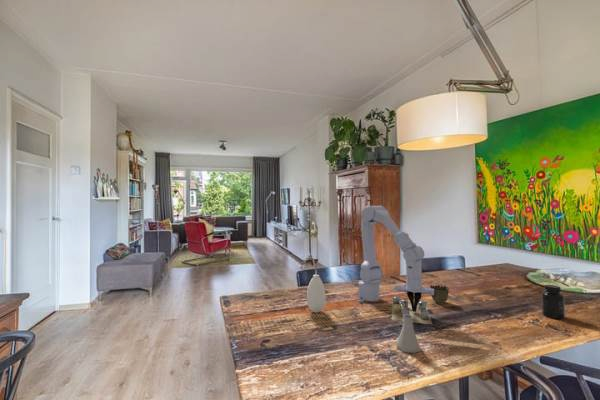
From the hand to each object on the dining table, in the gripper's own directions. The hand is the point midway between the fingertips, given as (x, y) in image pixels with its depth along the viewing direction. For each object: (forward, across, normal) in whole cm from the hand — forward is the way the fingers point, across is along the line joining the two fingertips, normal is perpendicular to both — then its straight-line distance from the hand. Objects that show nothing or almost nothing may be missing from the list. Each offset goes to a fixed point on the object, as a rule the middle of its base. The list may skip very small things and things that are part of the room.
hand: (414, 310), depth 114 cm
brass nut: (+1, -6, 0) cm, 6 cm away
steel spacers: (+1, -2, +2) cm, 2 cm away
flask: (+2, -4, -27) cm, 27 cm away
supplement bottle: (+2, +52, +16) cm, 55 cm away
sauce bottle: (+2, -38, -8) cm, 39 cm away
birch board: (+2, -2, 0) cm, 2 cm away
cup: (+2, +12, +16) cm, 20 cm away
